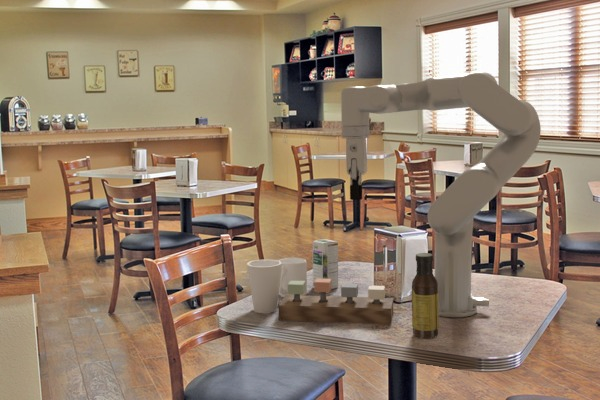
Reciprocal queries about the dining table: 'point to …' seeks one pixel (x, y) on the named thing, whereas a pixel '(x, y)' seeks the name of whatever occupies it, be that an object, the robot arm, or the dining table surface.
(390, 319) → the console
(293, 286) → the sage key
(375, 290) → the cream rectangular block
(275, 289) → the foam cup
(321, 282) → the terracotta key
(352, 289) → the slate-grey key
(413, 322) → the sauce bottle
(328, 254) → the syrup box
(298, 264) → the mug
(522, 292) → the dining table surface
